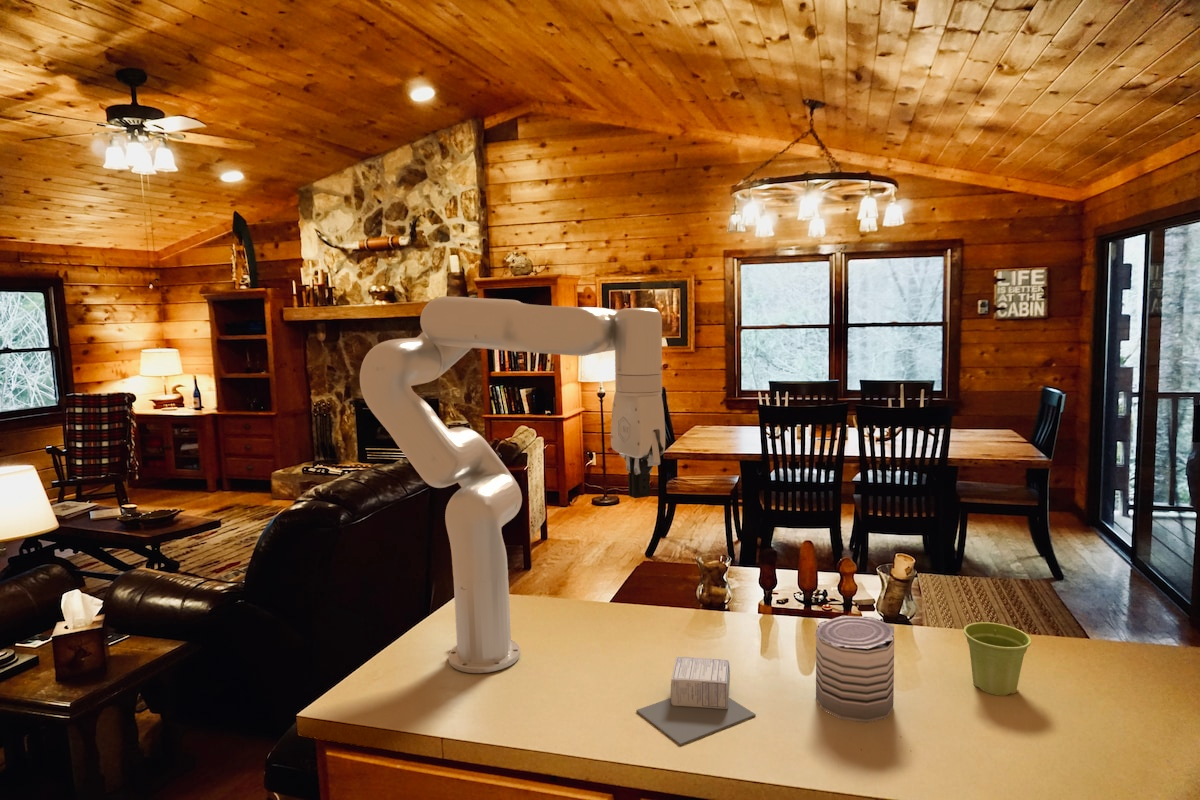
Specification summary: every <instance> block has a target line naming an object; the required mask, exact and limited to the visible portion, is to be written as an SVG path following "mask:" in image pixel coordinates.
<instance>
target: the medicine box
mask: <svg viewBox="0 0 1200 800" xmlns="http://www.w3.org/2000/svg"><path fill="white" fill-rule="evenodd" d="M674 661H675V662H674V666H673V671H672V676H671V679H670V698H671V704H672V705H673V706H687V707H701V708H716V709H727V708H728V703H729V698H730V684H731V683H730V682H731V681H730V680H731V677H730V676H731V674H730V673H731V669H730V662H729V660H728V659H719V658H704V657H703V658H701V657H689V656H677V657H676V658H675V660H674Z"/></svg>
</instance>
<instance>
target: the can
mask: <svg viewBox="0 0 1200 800" xmlns="http://www.w3.org/2000/svg"><path fill="white" fill-rule="evenodd" d="M894 633H895V626H893V625H891V624H889V623H888V622H887V623H886V622H884V621H882V620H880V619H879V618H875V617H874V616H855V615H841V616H837V617H834V618H831V619H828V620H824V621H821V622H818V625H817V627H816V630H815V635H814V636H815V699H816V701H817V703H818V702H819V703H818V704H820V705H819V706H821V707H820V709H821V710H822V711H824V712H826V711H827V712H826V713H828V712H829V713H828V714H830V713H831V714H830V715H832V714H833V716H834V715H835V716H834V717H836V716H837V717H836V718H838V717H839V718H838V719H840V720H843V721H844V720H845V721H850V722H857V723H859V722H860V723H865V724H866V723H872V722H876V721H880V720H885V719H887V718H888V717H889V716H890V714H891V712H892V711H893V709H894V697H895V696H894V692H895V689H894V687H895V685H894V684H895V638H894V637H895V636H894Z"/></svg>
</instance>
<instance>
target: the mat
mask: <svg viewBox="0 0 1200 800" xmlns="http://www.w3.org/2000/svg"><path fill="white" fill-rule="evenodd" d="M636 713H637V714H639V715H640V716H641V717H642V718H644V719H645V720H646V721H648V722H649V723H650V724H652V725H653V726H654V727H655V728H657V729H658V730H659V731H661V732H662V733H663V734H664V735H666V736H667V737H668V738H670V739H671V740H673V741H674V743H676V744H677V745H678V746H681V747H682V746H684V745H686V744H689V743H692V742H693V741H696V740H699V739H701V738H703V737H707V736H709V735H712V734H713V733H717V732H719V731H722V730H724V729H726V728H729V727H732V726H734V725H736V724H739V723H742V722H744V721H747V720H749V719H752V718H754V716H755V717H756V715H757V714H756V713H754V712H753V711H751V710H750V709H748V708H746V707H745V706H744V705H742V704H740V703H738V702H737V701H735V700H733V699H732V698H731V697H729V703H728V708H727V709H716V708H701V707H687V706H673V705H672V704H671V697H669V698H666V699H665V700H661V701H658V702H656V703H652V704H649V705H647V706H644V707H640V708H637V709H636Z"/></svg>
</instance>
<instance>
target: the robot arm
mask: <svg viewBox="0 0 1200 800" xmlns="http://www.w3.org/2000/svg"><path fill="white" fill-rule="evenodd" d="M662 319H663V317H662V314H661V312H660V311H659V310H658V309H656V308H651V307H630V308H627V307H626V308H620V309H611V308H606V307H597V306H595V307H594V306H580V307H579V306H560V305H559V306H558V305H540V304H531V303H530V304H529V303H525V302H524V303H523V302H521V301H519V300H516V299H506V298H505V299H503V298H486V297H485V298H483V297H468V296H447V295H446V296H440V297H436V298H434V299H431V300H430V301H429V302H428V303H426V305H425V306H424V308H423V309H422V311H421V314H420V321H419V324H420V329H421V330H422V332H421V333H420V334H419V335H418V336H417V337H408V338H394V339H388V340H384V341H382V342H379V343H377V344H375V346H373V347H372V348H371V349H369V351H368V352H367V353H366V355H365V357H364V358H363V361H362V363H361V366H360V371H359V386H360V391H361V394H362V397H363V399H364V401H365V404H366V406H367V407H368V408H369V410H370V412H371V413H372V414H373V415H374V417H375V418H376V419H377V420H378V421H379V422H380V424H381V425H382V426H383V428H385V430H386V431H387V432H388V433H389V435H390V436H391V438H392V439H393V441H394V442H395V444H396V445H397V447H399V449H400V451H401V452H402V453H403V454H404V456H405V457H406V459H407V460H408V461H409V463H410V464H411V465H412V467H413V468H414V469H415V471H416V473H418V474H419V476H420V478H421V479H422V480H423V481H424V482H425V483H426V484H427V485H429V486H430V487H433V488H437V489H442V488H447V487H450V486H452V485H455V484H457V483H458V485H459V487H460V488H459V489H458V490H457V491H456V492H454V493H453V495H452V496H451V497H450V499H449V501H448V503H447V504H446V507H445V508H446V509H445V514H444V515H445V516H444V517H445V518H444V520H445V526H446V527H445V528H446V531H447V535H448V540H449V543H450V544H449V545H450V550H451V551H450V552H451V565H452V577H453V590H454V591H453V593H454V595H453V596H454V610H455V611H454V612H455V630H456V631H455V632H456V645H455V646H453V648H452V649H451V650H450V651H449V653H448V662H449V665H450V667H452V668H454V669H455V670H457V671H460V672H463V673H470V674H487V673H493V672H498V671H501V670H504V669H507V668H509V667H510V666H512V665H513V664H515V663H516V662H517V661H518V660H519V658H520V657H521V648H520V645H519V644H518V643H517V642H516V641H514V640H513V639H512V636H511V635H512V632H511V613H510V612H511V611H510V610H511V608H510V590H509V589H510V588H509V586H510V585H509V569H508V567H509V565H508V555H507V549H506V545H505V542H504V538H503V534H502V528H503V526H505V525H506V524H507V523H509V522H510V521H512V519H514V518H515V517H516V516H517V514H518V513H519V511H520V509H521V507H522V502H523V496H522V491H521V488H520V486H519V483H518V482H517V481H516V479H515V477H514V476H513V475H512V474H511V472H510V471H509V469H508V468H507V467H506V465H505V463H504V462H503V461H502V460H501V459H500V457H499V455H497V454H496V452H495V451H494V450H493V448H492V446H490V444H489V443H488V442H487V439H486V438H484V437H483V436H482V435H481V434H479V433H478V432H477V431H475V430H473V429H472V428H469V427H464V426H458V427H457V426H456V427H452V428H448V427H447V425H445V423H443V421H442V420H441V418H439V417H438V415H437V413H436V412H435V411H434V409H433V408H432V407H431V405H429V404H428V402H427V401H425V399H423V398H422V397H420V396H419V395H418V394H417V393H416V392H415V391H414V390H413V388H412V386H419V385H422V384H426V383H427V384H428V383H430V382H432V381H435V380H437V379H439V378H440V377H441V376H442V375H443V374H445V373H446V372H447V371H449V369H450V368H452V367H453V365H455V364H456V363H457V362H458V361H459V360H460V359H462V358H463V357H464V356H466V354H468V352H469V351H471V349H486V350H487V349H488V350H496V351H497V350H498V351H506V352H507V351H510V352H513V353H515V352H526V353H527V352H528V353H533V354H546V355H547V354H548V355H562V356H573V357H575V356H576V357H578V356H579V357H581V356H588V355H589V356H590V355H593V354H594V355H595V354H599V353H604V352H612V351H614V357H615V358H614V362H615V363H614V364H615V365H614V367H615V368H614V369H615V375H614V376H615V382H614V383H615V385H614V386H615V392H614V395H613V400H612V402H613V403H612V409H611V423H610V446H611V449H612V450H613V451H615V452H616V453H619V456H620V457H621V458H623V459H624V461H625V466H626V467H625V468H626V471H627V476H628V477H627V478H628V480H627V481H628V482H627V483H628V485H627V487H628V488H627V489H628V496H629V497H630V498H633V499H640V498H647V497H649V496H650V495H651V473H652V472H653V467H654V466H659V465H661V456H662V455H663V454H664V453H665V449H666V422H665V409H664V401H663V396H662V394H663V355H662V354H663V320H662Z"/></svg>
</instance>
